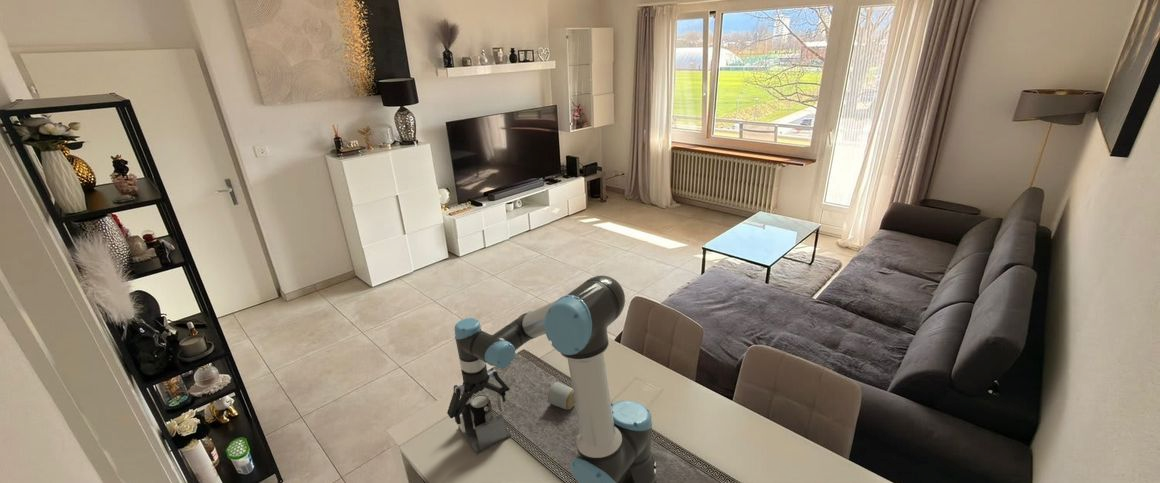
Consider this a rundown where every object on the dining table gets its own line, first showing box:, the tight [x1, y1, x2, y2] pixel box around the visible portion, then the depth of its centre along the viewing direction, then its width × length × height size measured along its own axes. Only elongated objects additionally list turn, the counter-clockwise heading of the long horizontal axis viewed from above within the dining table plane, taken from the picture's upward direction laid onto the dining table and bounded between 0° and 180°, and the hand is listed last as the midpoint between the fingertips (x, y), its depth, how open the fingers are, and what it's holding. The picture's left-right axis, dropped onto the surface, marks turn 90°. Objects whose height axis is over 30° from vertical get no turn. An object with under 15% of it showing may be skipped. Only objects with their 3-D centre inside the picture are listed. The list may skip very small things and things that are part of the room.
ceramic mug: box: [547, 381, 576, 411], centre depth 165 cm, size 11×8×8 cm
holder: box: [457, 392, 512, 456], centre depth 154 cm, size 14×12×9 cm
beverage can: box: [470, 393, 493, 433], centre depth 153 cm, size 7×7×12 cm
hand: (482, 419), depth 154 cm, fingers open, 13 cm apart
